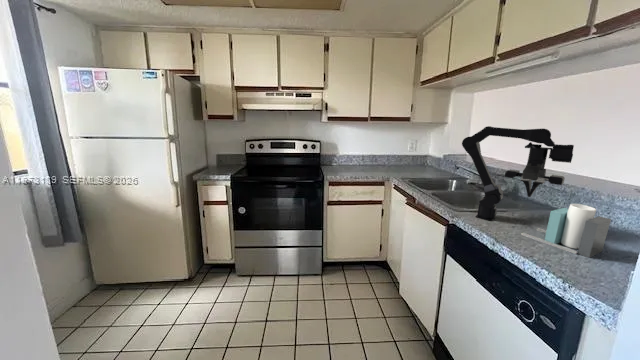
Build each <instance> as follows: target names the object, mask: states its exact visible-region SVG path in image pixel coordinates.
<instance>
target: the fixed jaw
mask: <svg viewBox="0 0 640 360" xmlns="http://www.w3.org/2000/svg"><path fill="white" fill-rule="evenodd" d="M611 221H612V218H608V217H603V216H596V217H594V218H593V219H589V220H586V223H585V226H584V230H583V234H582V238H581V242H580V246H579V248H578V250H576V249H574V248H570V247H567V246H565V245H562V244H561V245H560V244H559V243H558V244H555V243H552V242H550V241H547V240H545V238H544V239H543V238H540V237H538V236H535V235H531V234H528V233H526V232H524V231H523V232H521V236H523V237H527V238H528V239H533V240H535V241H537V242H540V243H543V244H546V245H549V246H552V247H554V248H558V249H560V250H563V251H566V252H569V253H571V254H574V255H580V256H583V257H586V258H588V259H589V258H592V257H594V256H596V255H598V254H600V253H603V251H604V247H605V246H604V245H605V242H606V240H607V239H606V238H607V235H608V232H609V228H610V224H611ZM536 231H537V232H540V233H544V234H546V231H547V229H542V228H539V227H536Z"/></svg>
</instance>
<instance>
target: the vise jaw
mask: <svg viewBox="0 0 640 360" xmlns="http://www.w3.org/2000/svg"><path fill="white" fill-rule="evenodd" d="M568 209H569V207H568V208H567V207H563V208H558V209H555V210H551V211H550V214H549V218H548V223H547V226H546V233H545V237H544V240H547V241H550V242H552V243H555V244H558V245H559V244H562V243H561V238H562V234H563V230H564V225H565V220H566V215H567V212H568Z"/></svg>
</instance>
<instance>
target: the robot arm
mask: <svg viewBox="0 0 640 360" xmlns="http://www.w3.org/2000/svg"><path fill="white" fill-rule="evenodd" d="M490 136H494V137H502V138H514V139H521V140H525V141H528V142H529V143H528V144H526V145H524V148H525V149H529V151H528V158H527V163H526V165H525V168H523V170H522V172H520V170H517V169H508V170H506V171H505V172H504V173H505V174H504V178H510V179H513V178H516V177H517V178H520V182H523V184H524V186H525V190H526V194H527V198H532V195H534V192H535V191H536V189H538V187H539V186H540V185H543V184H545V183H546V182H549V184H550V185H551V184H552V185H558V186H562V185H564V184H565V176H563V175H556V174H551V175H550V176H548V175H546V174H547V169H546V168H545V166H546V162H547V157H548V159H550V160H551V161H552V162H555V163H556V162H557V163H569V164H572V159H573V158H574V157H573V156H574V154H573V153H574V147H575V145H574V144H558V143H557V144H555V141H553V140H552V138H551V137H552V132H551V131H550V130H549V129H547V128H529V129H528V128H527V129H518V128H509V127H508V128H507V127H496V126H495V127H494V126H485V127H483V128H482V129H480V131H478V132H476V133H475V134H473V135H472V136H467V137H465V138H463V140H462V142H461V146H462V148H463V149H464V150H465V153H467V154H468V155H469V157H470V158H471V160H472V162H473V165H474V166H475V169H476V171H477V174H478V176H479V178H480V180H481V183H482V185H483V192H484V197H482V198H481V199H480V200H479V201H478V202H479V203H478V209H477V213H476V215H475V218H479V219H482V220H486V221H491V222H492V221H493V220H494V219H496V218H497V214H498V213H497V212H498V209H497V205H498V204H499V203H500V202H501V200H502V199H503V197H504V191H503V189H502V187H501V184H496V183H495V182H494V180H493V177H492V175H491V174H490V173H491V172H490V171H489V168H488V166H487V164H486V162H485V160H484V158H483V156H482V150H481V142H482V141H484V140H485V139H486V138H488V137H490ZM533 143H534V144H533ZM535 143H536V144H535ZM542 144H544V147H543V146H542ZM545 146H546V147H545ZM548 152H549V155H548Z"/></svg>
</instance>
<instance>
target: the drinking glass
mask: <svg viewBox="0 0 640 360" xmlns="http://www.w3.org/2000/svg"><path fill="white" fill-rule="evenodd" d="M596 212H597V209H596V208H595V207H592V206H590V205H586V204H581V203H570V204H569V207H568V212H567V215H566V220H565V225H564V230H563V234H562V238H561V243H560V244H561V245H562V246H564V247H567V248H570V249H574V250H576V249H578V250H579V246H580V242H581V238H582V234H583V230H584V226H585V223H586V220H589V219H593V218H595V216H596Z"/></svg>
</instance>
